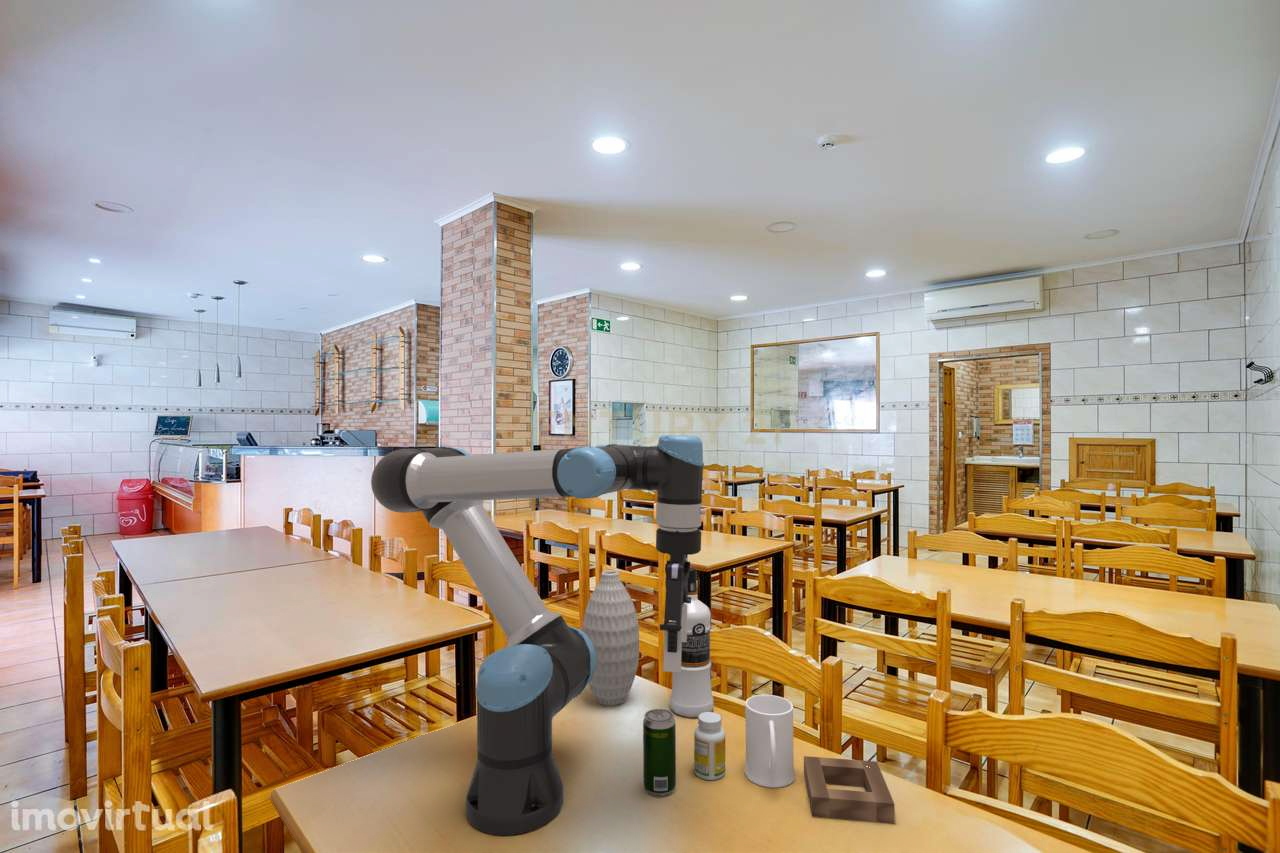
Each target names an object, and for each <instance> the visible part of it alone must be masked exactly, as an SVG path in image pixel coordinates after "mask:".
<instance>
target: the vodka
mask: <svg viewBox="0 0 1280 853" xmlns="http://www.w3.org/2000/svg"><path fill="white" fill-rule="evenodd" d="M697 571H698V570H697V568H695V567H690V572H689V581H688V596H687V597H691V603H684V604H687V641H686V642H682V649H681V673H680V672H672V685H671V694H670V696H669V697H670V698H669V706H670V708H671V710H672V711H673V713H675V714H677V715H678V714H679V716H682V717H685V718H691V717H695V718H698V716H699V715H700V714H701V713H704V712H713V708H714V702H715V701H714V696H713V691H712V685H711V684H712V683H711V668H712V667H711V666H712V661H711V629H712V628H711V627H712V625H711V616H712V613H711V610H710V607H708V605H707V604H705V603H703V602H702V601H701V600H699V599H698V590H697V589H698V588H697V586H698V585H697V584H698V583H697V581H698V580H697V579H698V578H697V577H698V576H697V574H698V573H697Z"/></svg>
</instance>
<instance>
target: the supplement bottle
mask: <svg viewBox="0 0 1280 853" xmlns="http://www.w3.org/2000/svg"><path fill="white" fill-rule="evenodd" d="M697 719H698V720H697V723H698V726H697V727H695V730H694V733H693V737H694V738H693V739H694V740H693V742H694V745H693V747H694V748H693V749H694V751H693V752H694V754H693V755H694V756H693V757H694V758H693V759H694V762H693V764H694V765H693V766H694V768H693V769H694V773H695V774H696V776H697V777H699V778H700V779H702V780H706V781H716V780H719V779H721V778H723V777H724V776H725V774H726V731H725V730H724V728H723V727H722V724H723V723H722V720H723V719H722V717H721V715H720V714H719V713H716V712H713V711H711V712H704V713H701V714H700V715H699V716H698V717H697Z"/></svg>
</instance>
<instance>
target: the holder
mask: <svg viewBox="0 0 1280 853" xmlns="http://www.w3.org/2000/svg"><path fill="white" fill-rule="evenodd" d="M866 766H868V767H866ZM869 767H870V768H869ZM803 775H804V776H803V777H804V781H805V788H806V791H807V797H808V798H807V799H808V802H809V807H810V812H811V817H813V818H822V819H823V818H825V819H826V818H827V819H835V820H848V821H858V822H867V823H868V822H871V823H880V824H891V825H895V824H896V823H895V814H896V811H895V810H896V809H895V808H896V807H895V802H894V799H893V797H892V795H891V793H890V789H889V788H888V785H887V783H886V781H885V777H884V776H883V775H884V774H883V773H882V770H881V768H880V766H879V764H878V761H874V760H873V761H872V760H862V759H861V760H859V759H846V758H836V757H835V758H834V757H833V758H832V757H821V756H820V757H819V756H807V755H803ZM827 785H835V786H837V785H838V786H847V787H848V786H849V787H861V788H864V791H861V790H850V789H847V790H846V789H837V788H828V787H827Z"/></svg>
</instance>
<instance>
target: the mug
mask: <svg viewBox="0 0 1280 853" xmlns="http://www.w3.org/2000/svg"><path fill="white" fill-rule="evenodd" d="M744 705H745V707H744V708H745V710H744V711H745V713H744V714H745V765H744V774H745V776H746V778H747V780H749V781H751V782H752V783H754V784H756V785H758V786H759V787H760V786H761V787H764V788H771V789H779V788H784V787H787V786H789V785H792V783H794V781H795V780H796V779H795V778H796V772H795V766H794V763H795V762H794V760H795V759H794V758H795V756H794V705H793V703H792V702H791V701H790V700H788V699H786V698H785V697H782V696H779V695H772V694H758V695H753V696H750V697H748V698H747V699H746V700H745V704H744Z"/></svg>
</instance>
